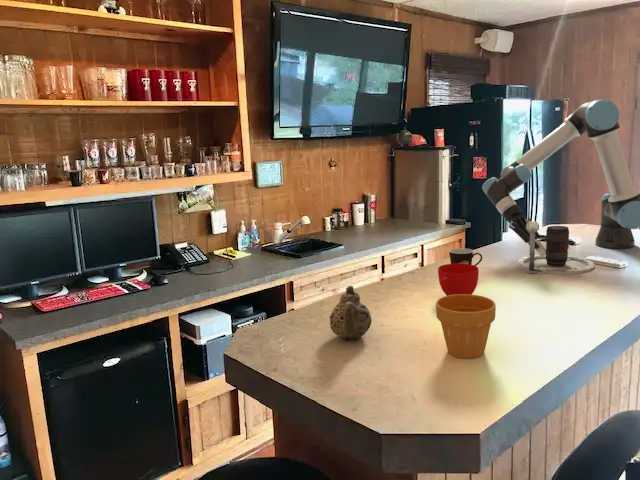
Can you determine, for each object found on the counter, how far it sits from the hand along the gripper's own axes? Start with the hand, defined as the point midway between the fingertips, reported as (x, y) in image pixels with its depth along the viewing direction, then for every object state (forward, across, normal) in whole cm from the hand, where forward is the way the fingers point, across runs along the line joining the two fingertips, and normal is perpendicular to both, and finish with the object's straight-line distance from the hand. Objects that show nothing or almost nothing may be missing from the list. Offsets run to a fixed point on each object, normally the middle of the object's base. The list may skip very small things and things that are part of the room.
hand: (544, 254), depth 210 cm
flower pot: (+28, +90, +22) cm, 97 cm away
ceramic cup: (+7, +59, +1) cm, 60 cm away
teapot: (+9, +105, +4) cm, 106 cm away
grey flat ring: (+6, 0, +1) cm, 6 cm away
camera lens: (+6, 0, +1) cm, 6 cm away
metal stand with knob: (+6, +12, +1) cm, 13 cm away
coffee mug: (-4, +37, -9) cm, 38 cm away
